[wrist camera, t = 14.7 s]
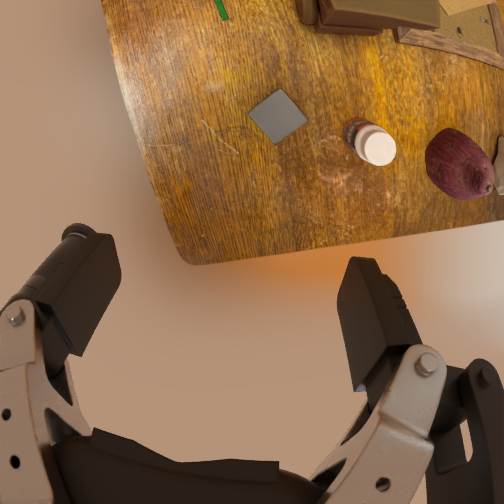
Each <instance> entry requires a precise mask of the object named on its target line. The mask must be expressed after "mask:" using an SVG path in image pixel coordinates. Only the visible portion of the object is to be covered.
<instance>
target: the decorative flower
mask: <svg viewBox="0 0 504 504" xmlns="http://www.w3.org/2000/svg"><path fill="white" fill-rule="evenodd" d="M214 1H215V3H216V5H217V8H218V10H219V13H220V15H221V18H222V20H226V19H228V16H227V14H226V11H225V8H224V6H223V4H222V1H221V0H214Z"/></svg>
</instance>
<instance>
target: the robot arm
mask: <svg viewBox="0 0 504 504" xmlns="http://www.w3.org/2000/svg"><path fill="white" fill-rule="evenodd" d="M120 282H121V268H120V264H119V260H118V256H117V251H116V247H115V242H114V239H113V237H112V235H111V234H103V233H90V234H89V235H88V236H87V235H86V234H84V233H82V232H78V231H74V232H71V233H69V234H68V235H67V236H66V238H65V239H64V240H63V241H62V242H61V243H60V244H59V245H58V246H57V247H56V248H55V250H54V251H53V252H52V253H51V254H50V255H49V256H48V257H47V258H46V260H45V261H44V262H43V263H42V264H41V265H40V266H39V267H38V269H37V270H36V271H35V272H34V274H33V275H32V276H31V277H30V278H29V279H28V281H27V282H26V283H25V284H24V286H23V287H22V288H21V289H20V291H19V292H18V293H16V294H15V295H14V296H12V297H11V299H10V300H9V301H8V302H7V303H6V305H5V306H4V307H3V308H2V310H1V311H0V504H409V503H410V502H411V500H412V498H413V496H414V494H415V492H416V490H417V488H418V486H419V484H420V482H421V480H422V478H423V476H424V474H425V476H426V489H427V504H504V389H503V386H502V383H501V380H500V378H499V375H498V373H497V371H496V369H495V368H494V367H493V365H492V364H491V363H489V362H488V361H486V360H484V359H475V360H473V361H472V362H471V363H470V364H469V366H468V367H467V368H466V369H462V368H457V367H452V366H448V365H446V364H445V362H444V359H443V358H442V356H441V355H440V354H439V353H438V352H437V351H436V350H435V349H433V348H432V347H429V346H427V345H423V343H422V341H421V338H420V336H419V334H418V331H417V329H416V326H415V324H414V322H413V319H412V317H411V315H410V313H409V311H408V309H406V307H407V306H406V304H405V302H404V300H403V299H402V295H401V293H400V291H399V289H398V287H397V285H396V284H395V283H394V282H393V281H392V280H391V279H390V278H389V277H388V276H387V275H386V274H382V273H381V271H380V268H379V266H378V264H377V262H376V260H375V259H374V258H365V257H354V256H353V257H351V258H350V260H349V263H348V266H347V269H346V272H345V275H344V278H343V280H342V283H341V286H340V289H339V292H338V297H337V310H338V315H339V319H340V324H341V327H342V333H343V338H344V342H345V347H346V352H347V357H348V362H349V368H350V373H351V379H352V384H353V390H354V392H361V391H366V392H367V397H368V399H367V400H366V401H365V402H364V404H363V405H362V407H361V409H360V411H359V412H358V414H357V415H356V417H355V419H354V420H353V422H352V424H351V425H350V427H349V428H348V430H347V431H346V433H345V434H344V436H343V437H342V439H341V440H340V442H339V443H338V444H337V446H336V447H335V449H334V450H333V451H332V452H331V453H330V454H329V455H328V456H327V457H326V458H325V460H324V461H323V462H322V463H321V464H320V465H319V467H318V468H317V469H316V470H315V471H314V473H313V474H312V475H311V476H310V477H309V479H306V478H304V477H302V476H299V475H297V474H295V473H292V472H289V471H286V470H281V469H279V461H254V460H240V459H239V460H238V459H223V460H213V461H201V462H183V463H182V462H176V461H173V460H171V459H168V458H167V457H164V456H162V455H160V454H158V453H156V452H154V451H152V450H150V449H149V448H147V447H144V446H143V445H141V444H139V443H137V442H136V441H134V440H131V439H127V438H124V437H121V436H118V435H115V434H112V433H109V432H106V431H103V430H100V429H98V428H95V427H94V428H93V431H91V429H90V427H89V425H88V423H87V421H86V420H85V418H84V417H83V415H82V413H81V411H80V408H79V404H78V401H77V397H76V393H75V389H74V385H73V380H72V376H71V371H70V366H69V363H68V361H67V359H66V358H67V356H68V354H69V353H70V354H73V355H77V356H79V357H82V355H83V353H84V351H85V349H86V347H87V345H88V343H89V341H90V339H91V337H92V335H93V333H94V331H95V329H96V327H97V325H98V323H99V321H100V320H101V318H102V316H103V314H104V312H105V310H106V309H107V307H108V305H109V303H110V301H111V300H112V298H113V296H114V294H115V293H116V291H117V289H118V287H119V285H120ZM466 419H467V423H468V427H469V431H470V436H471V441H472V447H473V454H472V457H471V459H470V461H469V462H467V460H466V456H465V450H464V444H463V439H462V434H461V429H460V424H461V423H462V422H464V421H465V420H466Z"/></svg>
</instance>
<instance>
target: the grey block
mask: <svg viewBox="0 0 504 504" xmlns="http://www.w3.org/2000/svg"><path fill="white" fill-rule="evenodd" d="M247 115H248V116H249V117H250V118H251V119H252V120H253V121H254V122H255V124H256V125H257V126H258V127H259V128H260V129H261V130H262V131H263V132H264V134H265V135H266V136H267V137H268V138H269V139H270V140H271V142H272V143H273V144H274V145H276V144H278V143H279V142H280V141H282V140H283V139H284V138H286V137H287V136H288V135H290V134H291V133H292V132H294V131H295V130H296V129H298V128H299V127H300V126H302V125H303V124H305V123H306V122H307V121H308V119H307V118H306V117H305V115H304V114H303V113H302V112H301V111H300V109H299V108H298V107H297V106H296V105H295V103H294V102H293V101H292V100H291V99H290V98H289V96H288V95H287V94H286V93H285V92H284V91H283V90H282V88H278V89H277V90H275V91H274V92H273V93H271V94H270V95H269V96H267V97H266V98H265V99H263V100H262V101H261V102H260V103H258V104H257V105H256V106H254V107H253V108H252V109H251V110H250V111H249V112H248V113H247Z"/></svg>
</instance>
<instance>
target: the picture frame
mask: <svg viewBox="0 0 504 504" xmlns="http://www.w3.org/2000/svg"><path fill="white" fill-rule="evenodd" d="M496 2H497V0H439V4H440V27H441V28H438V29H433V30H428V31H424V30H419V29H414V28H408V27H401V26H400V27H395V28H393V30H394V35H395V41H396V43H402V44H408V45H415V46H420V47H426V48H431V49H435V50H440V51H444V52H449V53H452V54H456V55H460V56H464V57H467V58H470V59H474V60H477V61H480V62H483V63H486V64H489V65H492V66H494V67H497V68H500V69H502V70H504V31H503V26H502V22H501V17H500V14H499V10H498V6H497V3H496Z"/></svg>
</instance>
